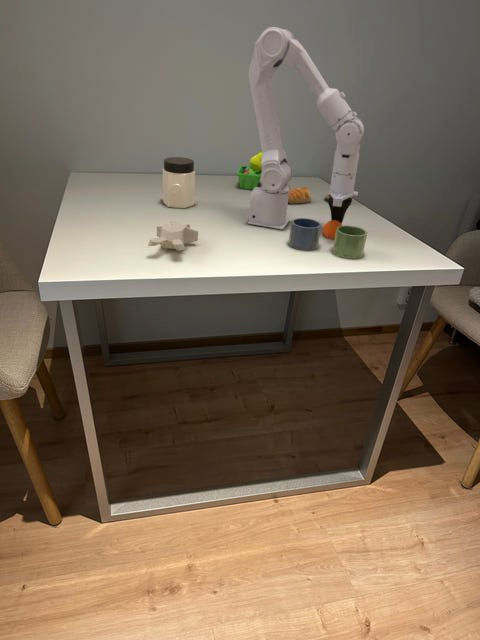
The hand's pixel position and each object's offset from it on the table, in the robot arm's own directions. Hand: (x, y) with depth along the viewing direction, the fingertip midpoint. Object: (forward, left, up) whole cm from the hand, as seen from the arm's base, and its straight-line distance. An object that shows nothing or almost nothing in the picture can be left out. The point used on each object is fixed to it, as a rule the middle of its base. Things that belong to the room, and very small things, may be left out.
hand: (336, 226), depth 119 cm
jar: (-45, +3, -2) cm, 45 cm away
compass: (-3, +30, -2) cm, 30 cm away
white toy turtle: (-33, -27, -2) cm, 43 cm away
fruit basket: (-32, +33, -2) cm, 46 cm away
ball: (0, -2, 0) cm, 2 cm away
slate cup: (-6, -12, -2) cm, 13 cm away
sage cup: (+4, -12, -2) cm, 13 cm away
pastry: (-15, +24, -2) cm, 28 cm away
